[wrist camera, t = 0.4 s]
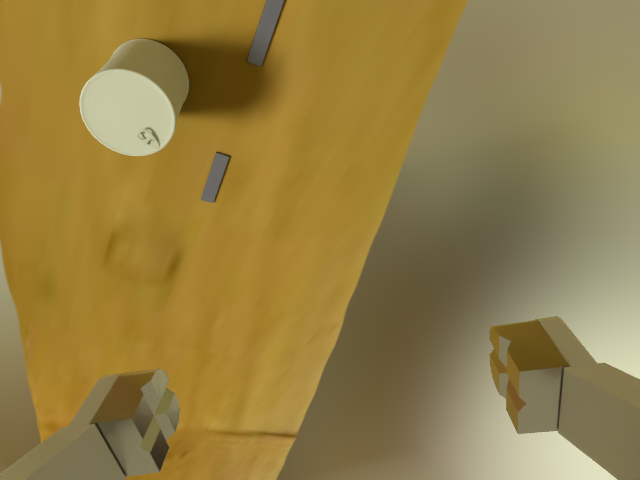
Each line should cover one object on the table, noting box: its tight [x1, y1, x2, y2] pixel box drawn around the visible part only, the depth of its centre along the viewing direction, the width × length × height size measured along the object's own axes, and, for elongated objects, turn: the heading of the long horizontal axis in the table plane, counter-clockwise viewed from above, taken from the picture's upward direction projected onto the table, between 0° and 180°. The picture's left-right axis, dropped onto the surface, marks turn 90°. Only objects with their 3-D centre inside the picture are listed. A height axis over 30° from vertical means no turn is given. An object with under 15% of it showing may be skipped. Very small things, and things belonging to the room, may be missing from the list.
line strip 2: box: [247, 0, 284, 67], centre depth 51 cm, size 8×2×1 cm, turn 156°
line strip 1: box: [201, 152, 229, 203], centre depth 62 cm, size 8×2×1 cm, turn 156°
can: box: [80, 39, 189, 156], centre depth 48 cm, size 9×9×12 cm
